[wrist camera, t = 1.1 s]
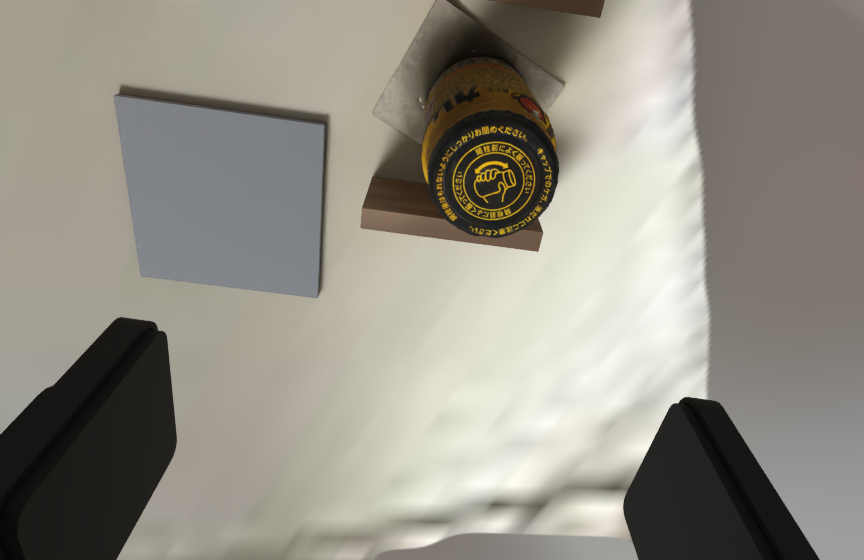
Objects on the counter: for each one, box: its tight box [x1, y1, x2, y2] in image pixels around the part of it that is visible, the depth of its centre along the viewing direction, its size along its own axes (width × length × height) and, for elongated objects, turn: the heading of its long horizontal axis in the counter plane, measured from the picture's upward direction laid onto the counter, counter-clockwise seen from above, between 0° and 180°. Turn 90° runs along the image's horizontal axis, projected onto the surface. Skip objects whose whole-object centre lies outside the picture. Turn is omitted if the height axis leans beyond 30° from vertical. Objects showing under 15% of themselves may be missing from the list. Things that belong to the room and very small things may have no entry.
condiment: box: [372, 0, 565, 238], centre depth 26 cm, size 7×8×12 cm
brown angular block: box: [361, 0, 605, 252], centre depth 29 cm, size 13×10×5 cm
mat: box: [114, 94, 326, 298], centre depth 35 cm, size 12×12×1 cm
